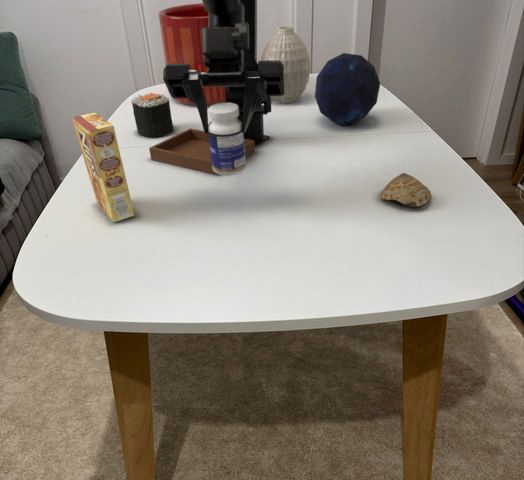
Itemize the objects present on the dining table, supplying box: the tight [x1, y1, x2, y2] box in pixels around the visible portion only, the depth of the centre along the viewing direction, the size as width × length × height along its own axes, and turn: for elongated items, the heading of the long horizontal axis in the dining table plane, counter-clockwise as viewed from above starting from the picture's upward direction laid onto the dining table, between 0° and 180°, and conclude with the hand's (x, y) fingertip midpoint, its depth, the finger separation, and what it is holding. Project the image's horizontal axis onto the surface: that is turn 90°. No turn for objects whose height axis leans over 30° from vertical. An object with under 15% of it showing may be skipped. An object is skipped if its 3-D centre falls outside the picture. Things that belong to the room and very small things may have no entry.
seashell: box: [380, 172, 433, 208], centre depth 88 cm, size 8×6×8 cm
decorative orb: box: [314, 52, 381, 126], centre depth 116 cm, size 14×15×15 cm
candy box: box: [72, 112, 135, 223], centre depth 85 cm, size 9×4×15 cm, turn 33°
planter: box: [158, 2, 227, 107], centre depth 135 cm, size 23×23×20 cm
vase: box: [260, 25, 311, 104], centre depth 130 cm, size 13×13×17 cm
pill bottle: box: [208, 103, 247, 176], centre depth 82 cm, size 6×6×10 cm
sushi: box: [130, 92, 174, 139], centre depth 118 cm, size 8×8×8 cm
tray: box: [148, 127, 256, 176], centre depth 107 cm, size 14×18×2 cm
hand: (224, 132), depth 80 cm, fingers closed on pill bottle, 6 cm apart
